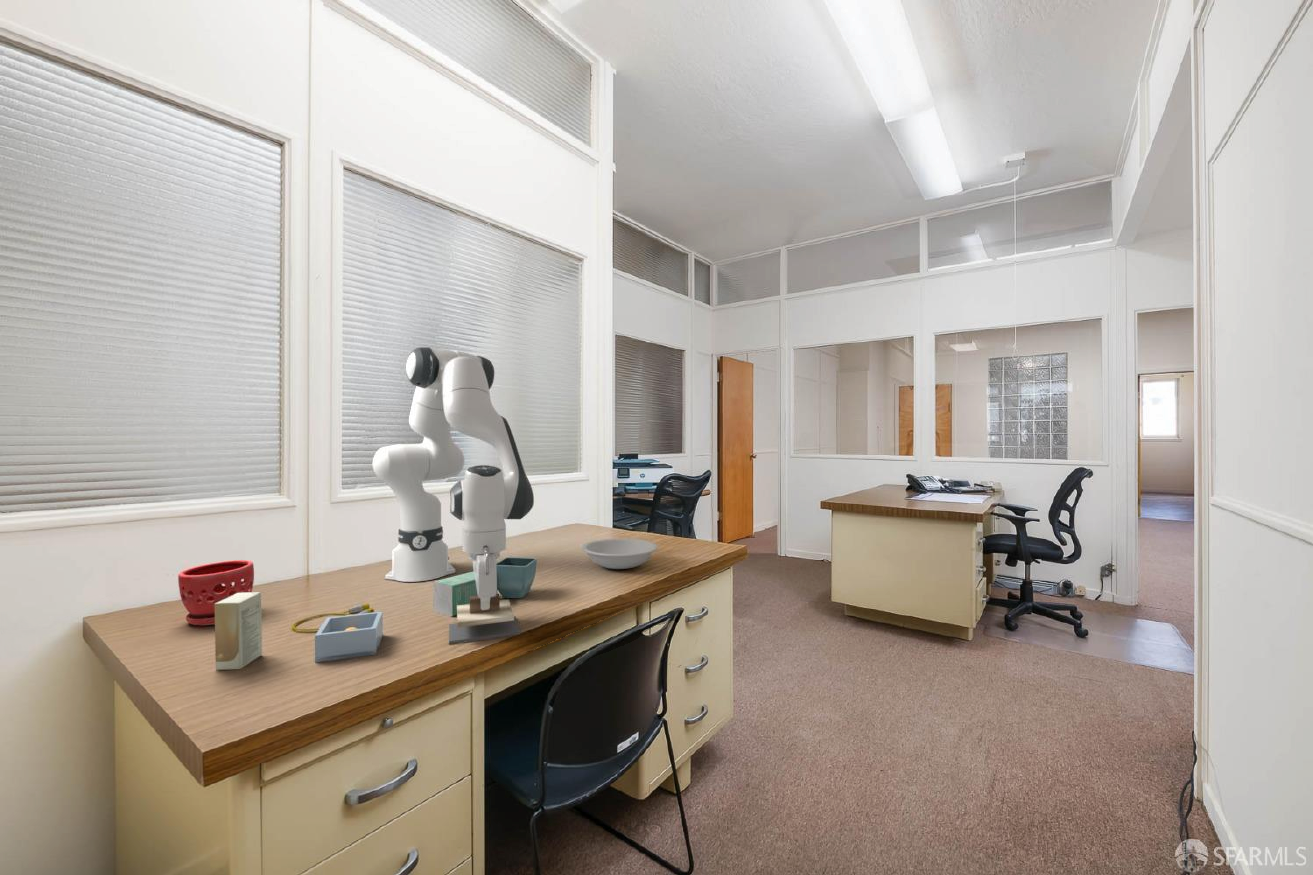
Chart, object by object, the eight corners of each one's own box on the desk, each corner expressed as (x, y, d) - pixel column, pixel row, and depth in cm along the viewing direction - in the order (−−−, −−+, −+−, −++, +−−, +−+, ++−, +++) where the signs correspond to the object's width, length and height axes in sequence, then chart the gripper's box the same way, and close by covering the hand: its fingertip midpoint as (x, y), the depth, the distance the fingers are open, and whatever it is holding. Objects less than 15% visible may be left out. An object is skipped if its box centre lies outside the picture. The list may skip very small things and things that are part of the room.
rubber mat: (449, 626, 114) (449, 624, 114) (515, 618, 119) (515, 615, 119) (449, 644, 104) (449, 641, 104) (520, 634, 110) (520, 631, 110)
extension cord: (374, 625, 115) (374, 617, 115) (287, 639, 108) (287, 629, 108) (374, 609, 126) (374, 601, 126) (296, 620, 119) (296, 611, 119)
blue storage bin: (327, 642, 105) (327, 617, 105) (382, 635, 109) (382, 611, 109) (314, 662, 96) (314, 635, 96) (376, 654, 100) (375, 628, 100)
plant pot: (235, 605, 127) (235, 556, 127) (266, 614, 121) (265, 563, 121) (166, 623, 115) (166, 569, 115) (197, 634, 109) (196, 577, 109)
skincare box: (239, 655, 99) (238, 591, 99) (263, 654, 99) (262, 591, 99) (213, 671, 93) (212, 602, 92) (239, 670, 93) (238, 602, 93)
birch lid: (457, 609, 115) (456, 591, 115) (508, 603, 119) (508, 586, 119) (457, 627, 105) (457, 607, 104) (513, 620, 109) (513, 601, 109)
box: (498, 601, 131) (498, 571, 131) (452, 618, 120) (452, 585, 119) (479, 596, 135) (478, 568, 135) (432, 612, 123) (432, 581, 123)
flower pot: (537, 591, 139) (537, 557, 139) (526, 601, 131) (526, 566, 131) (506, 590, 140) (506, 556, 140) (492, 600, 132) (492, 565, 131)
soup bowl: (627, 582, 148) (628, 558, 148) (565, 569, 161) (565, 548, 161) (672, 564, 168) (672, 543, 168) (613, 554, 181) (613, 535, 181)
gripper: (504, 551, 103) (504, 620, 103) (496, 532, 122) (496, 591, 122) (470, 553, 101) (470, 624, 101) (467, 534, 120) (467, 594, 120)
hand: (484, 606), depth 112 cm, fingers closed on birch lid, 2 cm apart
